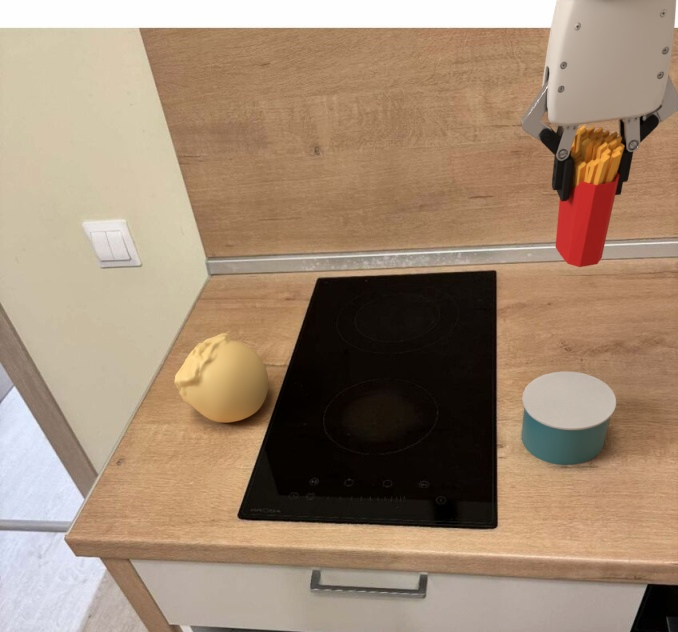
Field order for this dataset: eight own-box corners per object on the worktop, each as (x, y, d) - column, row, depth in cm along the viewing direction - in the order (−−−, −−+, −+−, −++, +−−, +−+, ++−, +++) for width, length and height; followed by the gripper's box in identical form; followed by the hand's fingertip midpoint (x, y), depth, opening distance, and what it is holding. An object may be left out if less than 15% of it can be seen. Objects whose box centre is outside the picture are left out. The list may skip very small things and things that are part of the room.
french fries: (548, 239, 70) (561, 124, 62) (583, 233, 70) (600, 117, 62) (574, 275, 65) (592, 153, 56) (612, 268, 64) (636, 145, 56)
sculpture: (217, 378, 96) (196, 318, 89) (286, 387, 92) (270, 325, 85) (180, 426, 89) (153, 365, 82) (252, 438, 85) (231, 376, 78)
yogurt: (593, 415, 79) (603, 367, 74) (614, 472, 72) (627, 424, 67) (512, 421, 80) (516, 375, 75) (525, 478, 73) (530, 431, 68)
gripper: (716, -63, 51) (664, 168, 64) (507, -28, 53) (498, 188, 67) (752, -50, 46) (687, 198, 59) (520, -12, 48) (507, 218, 61)
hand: (587, 190), depth 63 cm, fingers closed on french fries, 4 cm apart
